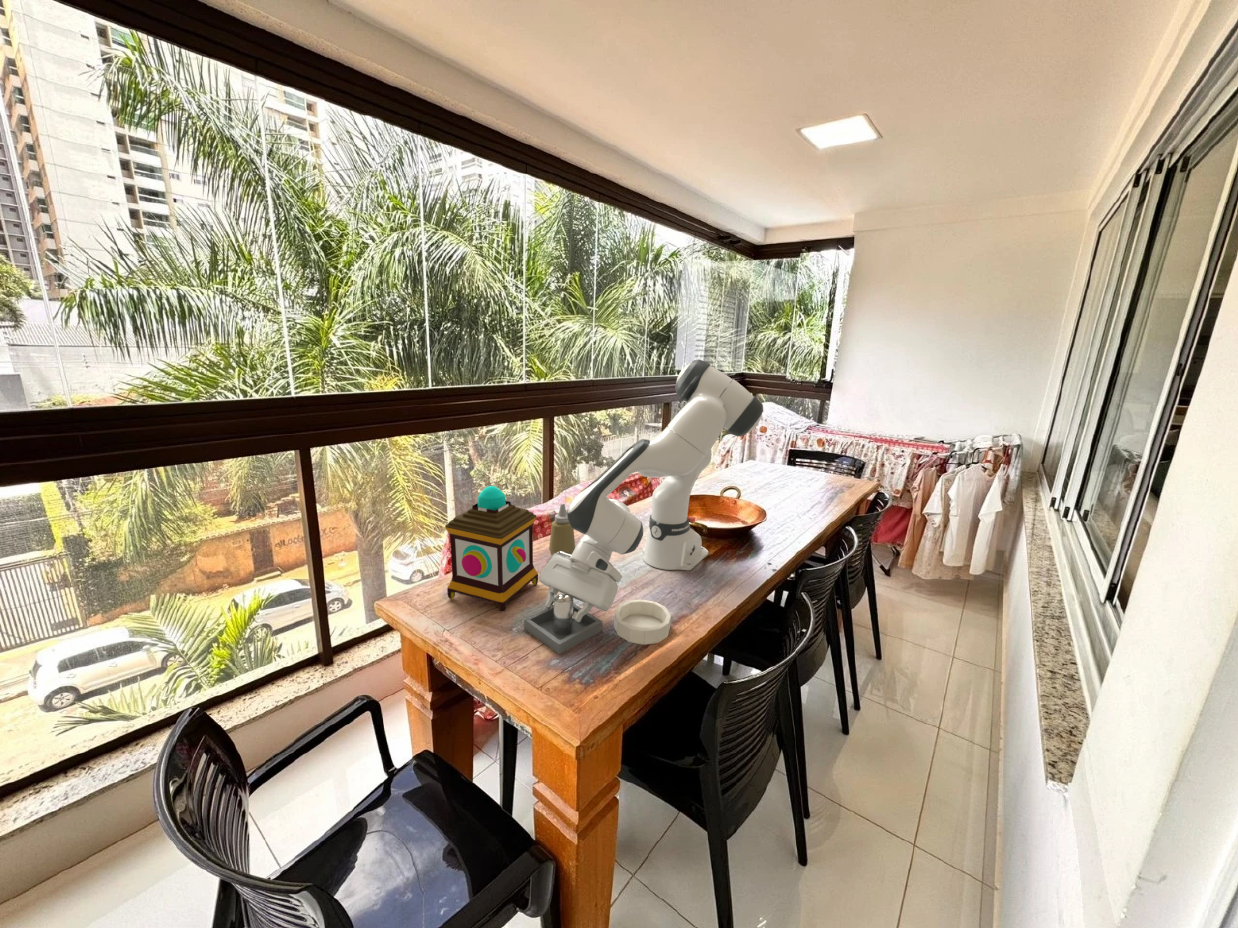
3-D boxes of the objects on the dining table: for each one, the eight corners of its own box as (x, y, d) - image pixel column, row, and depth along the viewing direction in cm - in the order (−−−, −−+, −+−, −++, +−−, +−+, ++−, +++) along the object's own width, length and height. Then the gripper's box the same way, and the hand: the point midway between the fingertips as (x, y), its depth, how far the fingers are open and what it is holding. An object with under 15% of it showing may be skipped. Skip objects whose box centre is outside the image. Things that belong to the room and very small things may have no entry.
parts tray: (566, 611, 127) (566, 599, 126) (602, 634, 118) (602, 621, 117) (524, 632, 117) (523, 619, 117) (559, 658, 109) (559, 644, 108)
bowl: (639, 609, 129) (640, 594, 127) (679, 631, 120) (681, 615, 119) (603, 629, 120) (604, 613, 118) (644, 655, 111) (645, 637, 110)
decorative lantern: (486, 568, 147) (482, 470, 139) (545, 582, 140) (545, 481, 132) (439, 601, 129) (432, 491, 121) (504, 619, 122) (501, 504, 114)
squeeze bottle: (557, 567, 149) (557, 510, 144) (544, 556, 156) (544, 502, 151) (580, 560, 154) (581, 506, 149) (566, 550, 160) (567, 498, 155)
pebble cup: (564, 621, 120) (564, 588, 118) (576, 629, 118) (577, 596, 115) (549, 629, 117) (549, 595, 115) (561, 637, 114) (562, 603, 112)
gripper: (550, 543, 124) (522, 594, 119) (617, 568, 113) (589, 626, 108) (562, 554, 129) (535, 603, 124) (627, 578, 118) (601, 634, 113)
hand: (561, 614), depth 116 cm, fingers open, 7 cm apart
